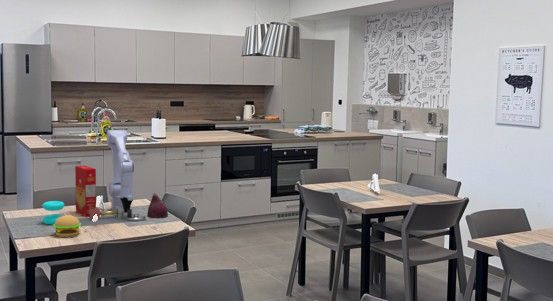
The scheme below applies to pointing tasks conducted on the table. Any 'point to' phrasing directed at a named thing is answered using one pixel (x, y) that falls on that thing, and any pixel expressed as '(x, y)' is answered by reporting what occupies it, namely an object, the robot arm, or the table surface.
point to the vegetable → (157, 208)
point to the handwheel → (134, 216)
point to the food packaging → (85, 189)
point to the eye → (119, 212)
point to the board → (105, 220)
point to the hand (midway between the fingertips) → (126, 212)
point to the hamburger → (67, 226)
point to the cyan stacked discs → (52, 207)
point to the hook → (97, 211)
